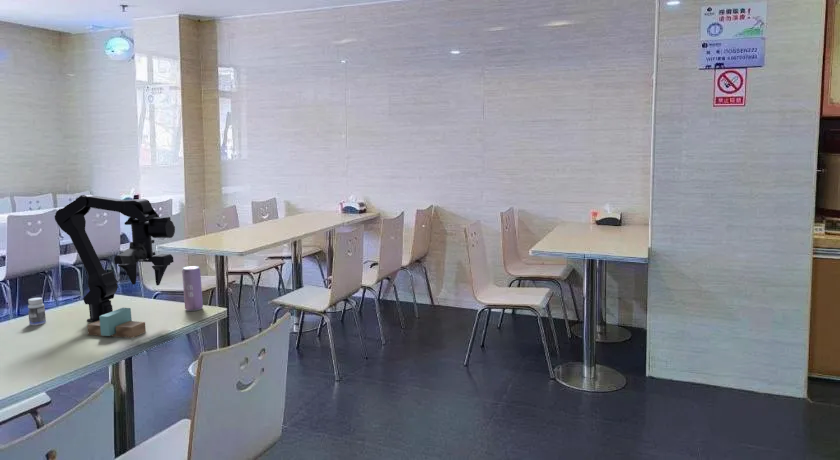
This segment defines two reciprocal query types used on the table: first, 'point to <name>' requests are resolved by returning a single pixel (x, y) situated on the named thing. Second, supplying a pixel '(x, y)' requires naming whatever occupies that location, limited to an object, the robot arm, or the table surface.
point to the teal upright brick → (114, 320)
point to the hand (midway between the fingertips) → (145, 284)
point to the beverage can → (192, 288)
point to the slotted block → (120, 329)
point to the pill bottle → (36, 311)
